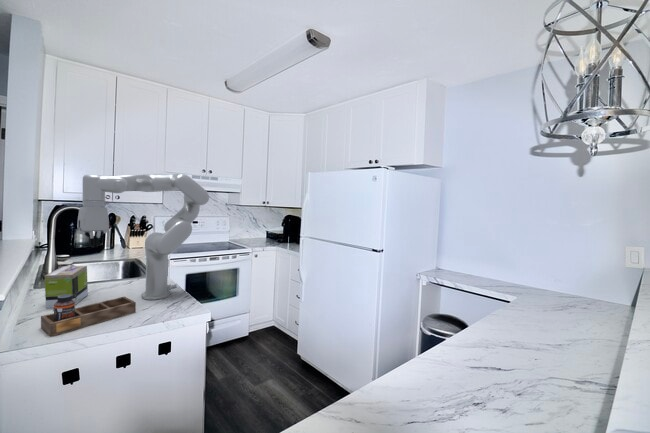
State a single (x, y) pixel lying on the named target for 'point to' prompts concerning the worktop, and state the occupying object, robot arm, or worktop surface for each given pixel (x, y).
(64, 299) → the supplement bottle
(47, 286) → the tea box
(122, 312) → the wooden compartment tray
